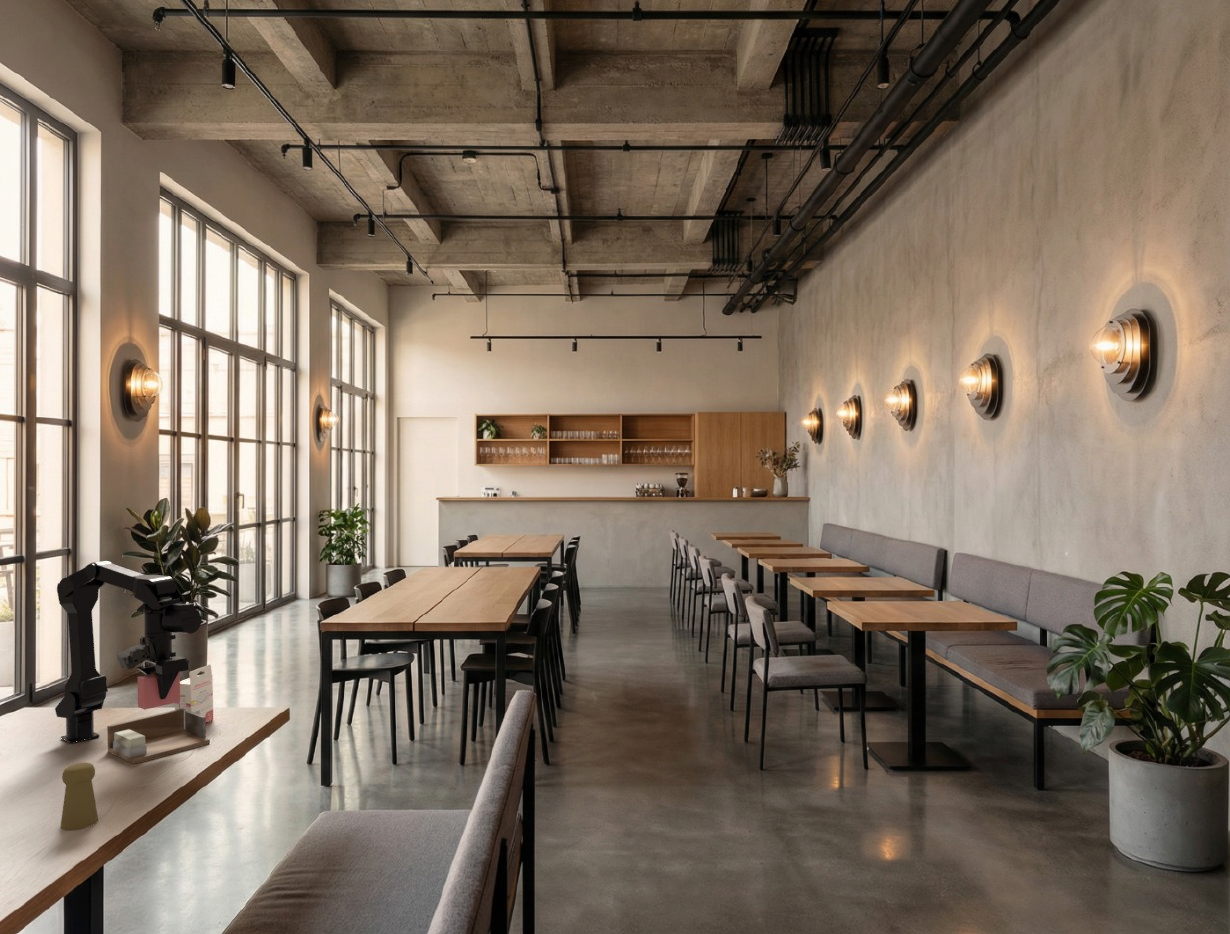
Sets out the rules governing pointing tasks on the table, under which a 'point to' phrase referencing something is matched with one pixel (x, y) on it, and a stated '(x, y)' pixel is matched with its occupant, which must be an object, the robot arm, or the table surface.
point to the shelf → (156, 735)
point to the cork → (78, 797)
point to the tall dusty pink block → (156, 692)
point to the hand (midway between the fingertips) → (159, 697)
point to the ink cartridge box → (197, 693)
